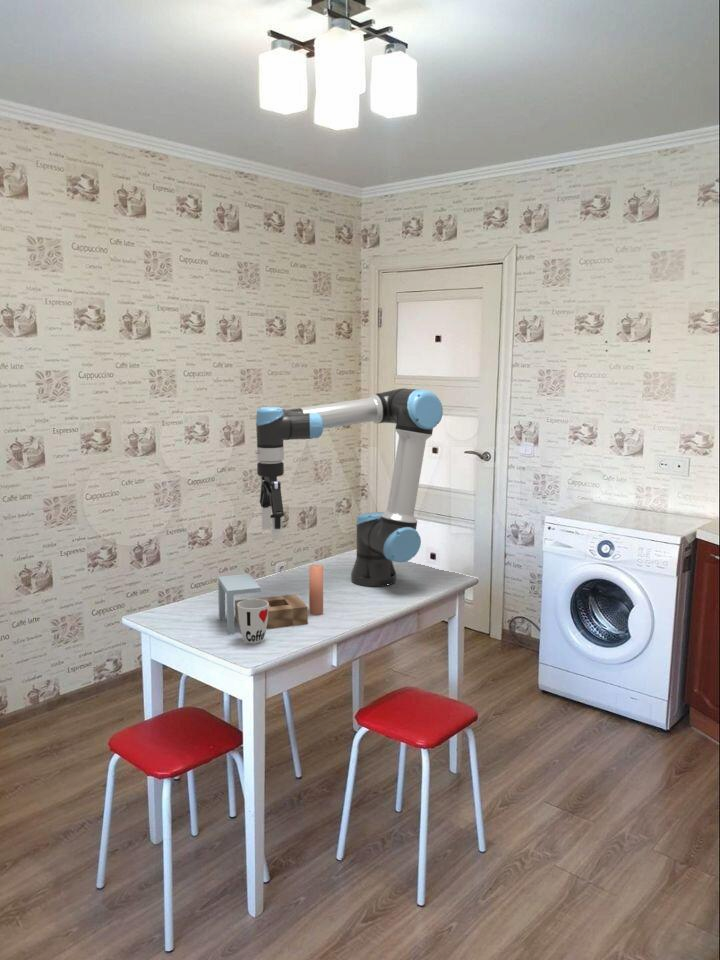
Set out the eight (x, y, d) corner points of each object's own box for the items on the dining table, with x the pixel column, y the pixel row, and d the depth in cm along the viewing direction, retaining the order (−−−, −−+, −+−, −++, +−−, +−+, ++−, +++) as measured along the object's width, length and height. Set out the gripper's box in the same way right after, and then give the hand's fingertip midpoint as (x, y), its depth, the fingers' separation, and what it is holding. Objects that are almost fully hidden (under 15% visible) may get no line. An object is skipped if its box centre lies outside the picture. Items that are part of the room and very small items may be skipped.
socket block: (295, 610, 223) (295, 594, 222) (307, 623, 212) (307, 606, 211) (235, 617, 216) (234, 600, 216) (244, 631, 205) (243, 613, 205)
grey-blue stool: (249, 614, 219) (249, 573, 217) (261, 630, 206) (260, 587, 204) (218, 617, 216) (218, 576, 214) (228, 634, 203) (227, 590, 201)
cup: (242, 647, 194) (241, 610, 192) (234, 637, 201) (233, 600, 200) (272, 643, 197) (272, 606, 196) (264, 632, 205) (263, 597, 203)
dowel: (320, 610, 223) (320, 564, 221) (324, 614, 220) (324, 567, 217) (307, 611, 222) (307, 565, 220) (311, 616, 218) (311, 569, 216)
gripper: (248, 456, 226) (250, 525, 230) (266, 468, 203) (268, 545, 206) (273, 455, 228) (274, 524, 232) (294, 467, 205) (295, 543, 209)
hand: (271, 534), depth 219 cm, fingers open, 13 cm apart
